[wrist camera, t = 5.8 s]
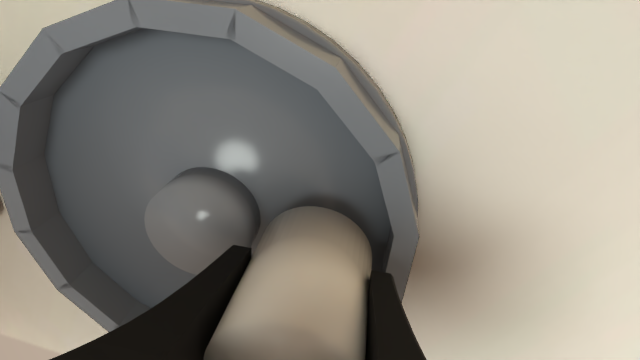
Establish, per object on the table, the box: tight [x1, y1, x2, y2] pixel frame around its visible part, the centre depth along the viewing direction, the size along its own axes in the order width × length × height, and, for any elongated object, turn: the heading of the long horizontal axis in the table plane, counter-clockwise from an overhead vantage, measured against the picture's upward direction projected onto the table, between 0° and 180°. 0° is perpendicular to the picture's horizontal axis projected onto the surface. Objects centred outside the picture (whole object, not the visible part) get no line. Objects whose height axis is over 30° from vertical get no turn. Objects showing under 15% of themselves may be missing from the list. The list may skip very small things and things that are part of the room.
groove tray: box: [0, 0, 419, 332], centre depth 16 cm, size 16×16×2 cm
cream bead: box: [204, 206, 372, 360], centre depth 12 cm, size 4×4×5 cm
